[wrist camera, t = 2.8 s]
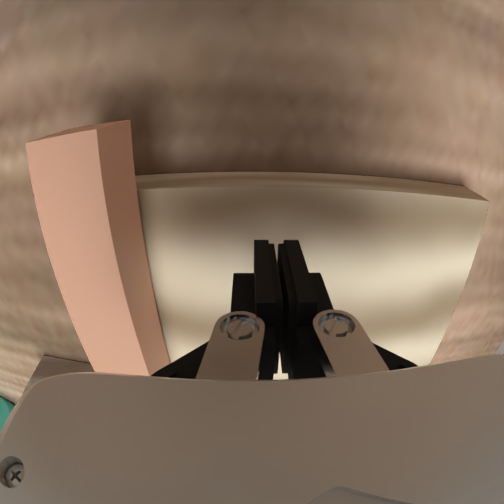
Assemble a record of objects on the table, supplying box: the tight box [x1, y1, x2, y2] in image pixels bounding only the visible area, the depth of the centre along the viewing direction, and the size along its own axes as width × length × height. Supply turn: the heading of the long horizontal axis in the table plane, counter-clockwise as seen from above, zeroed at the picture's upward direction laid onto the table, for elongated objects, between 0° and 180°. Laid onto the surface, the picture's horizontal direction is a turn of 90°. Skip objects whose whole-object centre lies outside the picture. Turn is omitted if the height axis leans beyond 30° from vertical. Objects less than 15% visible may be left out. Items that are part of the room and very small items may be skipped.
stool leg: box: [26, 120, 170, 376], centre depth 13 cm, size 17×3×3 cm, turn 0°
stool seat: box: [23, 172, 490, 394], centre depth 17 cm, size 17×30×4 cm, turn 90°
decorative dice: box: [0, 397, 15, 432], centre depth 25 cm, size 8×8×8 cm
